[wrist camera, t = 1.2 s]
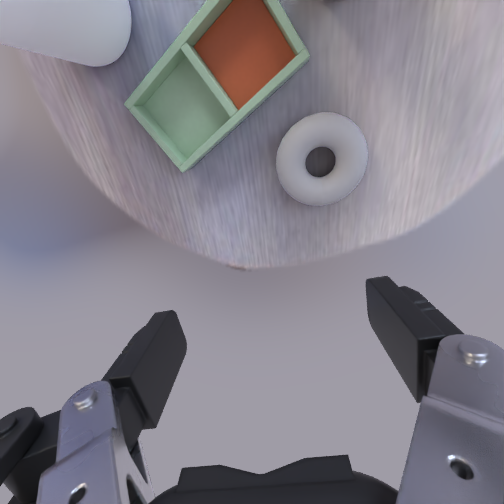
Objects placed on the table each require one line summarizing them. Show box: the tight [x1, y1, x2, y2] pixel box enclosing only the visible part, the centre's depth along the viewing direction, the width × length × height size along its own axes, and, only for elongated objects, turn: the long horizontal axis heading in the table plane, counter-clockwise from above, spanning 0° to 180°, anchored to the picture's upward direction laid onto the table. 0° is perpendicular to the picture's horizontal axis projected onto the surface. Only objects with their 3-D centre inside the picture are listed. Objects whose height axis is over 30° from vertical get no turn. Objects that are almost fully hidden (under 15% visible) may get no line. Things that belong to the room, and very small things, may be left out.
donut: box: [276, 112, 368, 206], centre depth 29 cm, size 10×4×10 cm
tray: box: [124, 0, 310, 173], centre depth 27 cm, size 9×18×3 cm, turn 128°
